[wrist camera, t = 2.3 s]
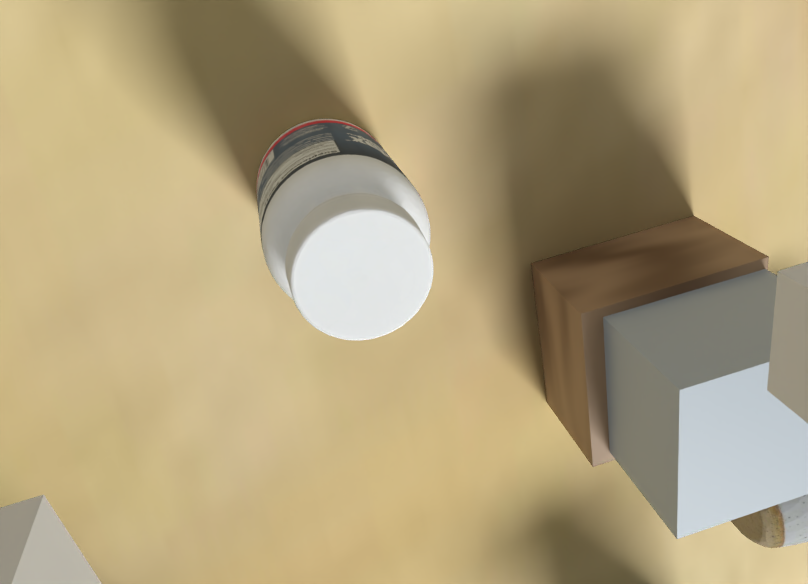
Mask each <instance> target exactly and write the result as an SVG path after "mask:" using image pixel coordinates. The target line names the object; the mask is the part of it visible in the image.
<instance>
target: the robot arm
mask: <svg viewBox="0 0 808 584" xmlns="http://www.w3.org/2000/svg"><path fill="white" fill-rule="evenodd" d="M767 391H769V392H770V393H771V394H772V395H773V396H775V397H776V398H777V399H778V400H780V401H781V402H782V403H783V404H785V405H786V406H787V407H788V408H789V409H791V410H792V411H793V412H794V413H796V414H797V415H798V416H799V417H800V418H802V419H803V420H804V421H805V422H807V423H808V262H806V263H803V264H799V265H796V266H793V267H789V268H786V269H783V270H780V271H778V274H777V285H776V296H775V307H774V318H773V329H772V340H771V351H770V362H769V373H768V384H767ZM0 584H102V583H101V582H100V580H99V579H98V577H97V575H96V574H95V572H94V571H93V569H92V568H91V566H90V565H89V563H88V562H87V560H86V559H85V557H84V556H83V554H82V552H81V551H80V549H79V548H78V546H77V545H76V543H75V542H74V540H73V539H72V537H71V536H70V534H69V533H68V531H67V530H66V528H65V526H64V525H63V523H62V522H61V520H60V519H59V517H58V516H57V514H56V513H55V511H54V510H53V508H52V507H51V505H50V503H49V502H48V500H47V499H46V497H45V496H44V495H41V496H38V497H34V498H31V499H28V500H24V501H21V502H18V503H15V504H11V505H8V506H5V507H1V508H0Z"/></svg>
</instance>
